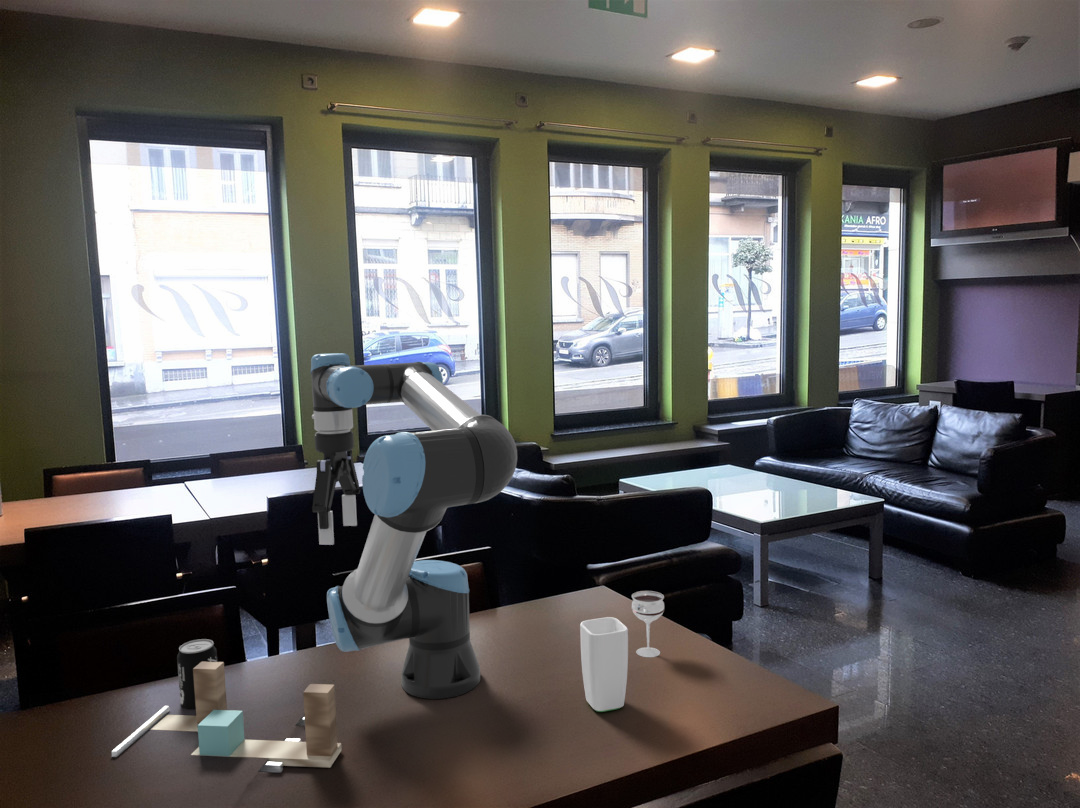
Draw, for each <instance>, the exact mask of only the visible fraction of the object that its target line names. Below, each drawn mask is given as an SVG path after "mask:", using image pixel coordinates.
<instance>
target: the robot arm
mask: <svg viewBox="0 0 1080 808" xmlns="http://www.w3.org/2000/svg"><path fill="white" fill-rule="evenodd" d="M350 359H351V358H350V356H349V354H348V353H341V352H340V353H337V352H336V353H317V354H314V355H313V356H312V357H311V359H310V363H311V364H310V376H311V392H312V406H313V407H312V408H313V414H312V415H311V419H312V420H313V423H314V425H313V427H314V430H315V431H317V432H315V434H314V448H315V449H314V450H315V451H316V452H317V453H322V454H323V459H322V460H321V459H318V460H316V475H315V476H316V477H315V483H314V489H313V490H314V491H313V499H312V507H311V510H312V513H317V524H318V525H317V528H318V529H317V530H318V542H319V543H318V544H319V545H325V546H327V545H329V546H331V545H332V546H333V545H335V537H334V536H335V535H334V534H335V533H334V514H333V510H331V507H332V505H333V499H334V495H335V490H336V485H337V483H339V485H340V487H341V489H342V492H343V494H342V495H341V505H342V524H343V525H342V526H343V527H349V526H351V527H357V526H358V519H357V499H356V497H357V496H356V495H359V494H360V493H361V489H360V483H359V479H358V475H357V470H356V467H355V463H354V456H353V455H354V454H353V449H354V447H355V443H354V432H353V431H352V429H353V428H354V418H353V415H354V413H353V409H355V408H360V407H362V406H364V405H365V406H366V405H378V404H392V403H393V404H394V403H403V404H404V405H406V406H407V408H409V409H410V410H411V411H412V412H413V414H415V415H416V417H418V418H419V419H420V420H421V421H422V422H423V423H424V424H425V425H426V426H427V427H428V428H429V429H430V430H427V431H416V432H415V431H414V432H410V431H409V432H408V431H401V432H397V433H395V434H390V435H389V434H388V435H387V434H386V435H383V436H380V437H378V438H376V439H375V440H374V441H373V442H372V443H371V444H370V445H369V447H368V449H367V451H366V453H365V456H364V460H363V465H362V471H363V475H362V478H361V479H362V480H361V482H362V491H363V496H364V499H365V503H366V505H367V507H368V509H369V510H370V512H371V513H372V514H374V516H373V519H372V522H371V524H370V529H369V532H368V535H367V538H366V542H365V544H364V548H363V551H362V553H361V557H360V559H359V564H358V566H357V568H355V569H354V570H353V571H352V572H350V574H348V576H347V577H346V578H345V580H344V582H343V585H342V586H340V585H336V586H335V587H331V588H329V589H328V590H327V592H326V604H327V611H328V619H329V624H330V627H331V628H330V629H331V630H332V631H331V632H332V635H333V640H334V641H335V644H336V646H337V649H339V650H340V651H342V652H346V653H348V652H353V651H358V652H359V651H361V650H364V649H367V648H372V647H376V646H380V645H384V644H390V643H393V642H399V641H402V640H406V639H408V640H409V641H408V642H409V643H408V644H409V645H408V648H407V652H406V654H405V655H406V656H405V659H404V663H403V666H402V669H401V686H402V689H403V691H405V692H406V693H408V694H409V695H410V696H414V697H417V698H421V699H430V700H437V699H447V698H453V697H457V696H458V697H459V696H460V695H463V694H466V693H468V692H470V691H471V690H473V689H475V687H477V686H478V685H479V684H480V682H481V667H480V663H479V660H478V658H477V655H476V653H475V650H474V647H473V645H472V642H471V630H470V629H471V628H470V624H471V623H470V588H469V581H468V573H467V571H466V570H465V568H463V567H462V566H461V565H459V564H457V563H453V562H451V561H445V560H436V559H424V560H423V559H421V560H416V559H417V556H418V554H419V551H420V549H421V546H422V544H423V542H424V539H425V536H426V534H427V532H428V531H430V530H432V529H434V528H436V526H438V524H440V522H441V521H442V519H443V517H444V516H445V513H446V511H447V509H448V508H452V507H459V506H464V505H465V506H466V505H472V504H478V503H479V504H480V503H483V502H486V501H488V500H490V499H492V498H494V497H496V496H498V495H499V494H500V493H502V491H503V490H505V489H506V487H507V486H508V485H509V483H510V482H511V480H512V478H513V476H514V473H515V471H516V468H517V465H518V464H517V463H518V448H517V445H516V442H515V439H514V438H513V435H512V434H511V433H510V431H509V429H508V428H507V427H505V425H503V424H502V423H501V422H500V421H499V420H497V419H496V418H494V417H493V416H491V415H487V414H480V413H479V412H477V411H476V409H474V408H473V407H472V406H470V405H469V404H468V403H466V402H465V401H464V400H463V399H462V398H460V397H459V396H458V395H457V394H455V392H453V391H452V390H450V388H448V387H447V386H446V385H445V384H444V381H443V373H442V372H441V370H440V367H439V365H437V363H435V362H431V361H430V362H428V361H427V362H426V361H425V362H424V361H415V362H402V363H400V362H399V363H397V362H396V363H386V364H385V363H384V364H379V363H378V364H362V365H351V361H350Z"/></svg>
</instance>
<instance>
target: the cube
mask: <svg viewBox="0 0 1080 808" xmlns="http://www.w3.org/2000/svg"><path fill="white" fill-rule="evenodd" d="M244 724H245V723H244V711H243V710H235V709H233V710H231V709H229V710H228V709H227V710H213V711H212V712H211V713H210V714H209V715H208V716H207V717H206V718H205V719H204V720H203V721H201V722H200V723H199V724H198V732H197V736H198V747H199V753H200V755H199V756H202V755H209V757H227V756H230V755H231V754H232V753H233V752H234V751H235V750H236V749H237V747H238V746H239V745H240V744H241V743H242V742H243V741H244V740H246V738H245V727H244V726H245V725H244Z"/></svg>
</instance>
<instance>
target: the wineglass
mask: <svg viewBox="0 0 1080 808" xmlns="http://www.w3.org/2000/svg"><path fill="white" fill-rule="evenodd" d="M631 598H632V602H631V610H632V613H633V614H634V616H635V617H636V618H637V619H639V620H641V621H643V622H644V623H645V626H646V629H645V630H646V647H645V646H644V647H640V648H638V649H637V650H636V651H635V653H636V654H637V655H638V656H640V657H643V658H656V657H658V656H660V654H661V651H660V650H659V649H657V648H655V647H650V633H651V632H650V630H651V623H653V622H654V621H657V620H658V619H659V618H660V617H661V616H663V613H664V612H665V602H664V601H663V600H664V599H665V596H664V594H662V593H661V592H658V591H655V590H654V591H653V590H640V591H636V592H634V593H632V594H631Z"/></svg>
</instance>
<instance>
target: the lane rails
mask: <svg viewBox="0 0 1080 808" xmlns="http://www.w3.org/2000/svg"><path fill="white" fill-rule="evenodd" d="M170 709H171V708H170V706H169V705H164V706H163V707H161V709H159V711H157V712H155V714H153V715H152V716H151V717H150V718H149V719H148V720H146V721H145V722H144V723H143V724H142V725H140V727H138V728H137V729H136V730H135V731H133V732H132V733H131V734H130V735H129V736H128V737H126V738H125V739H124V740H123V741H121V743H119V744H118V745H116V747H115V748H113V750H111V758H112V757H113V758H117V757H118V756H120V755H121V754H122V753H124V751H125V750H127V749H128V748H130V746H131V745H132V744H134V743H135V742H136V741H137V740H138V739H139V738H141V737H142V735H144V734H145V733H146V732H148V730H150V729H152V728H153V727H154V726H155V725H156V724H157V723H158V722H160V721H161V720H162V719H163V718H164V717H165V716H166V715H168V713H169V712H170V711H171V710H170ZM294 726H296V727H299V726H300V727H302V726H303V727H305V716H302V717H301V718H300V719H299V720H298V721H297V722H296V723H295V725H294ZM282 741H297V742H302V738H295V737H293V738H290V737H289V738H287V737H285V738H283V740H282ZM283 770H284V766H283V763H282V762H266V761H265V762H264V764H263V765H262V766H261V767H260V769H259V770H258V773H282V772H283Z"/></svg>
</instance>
